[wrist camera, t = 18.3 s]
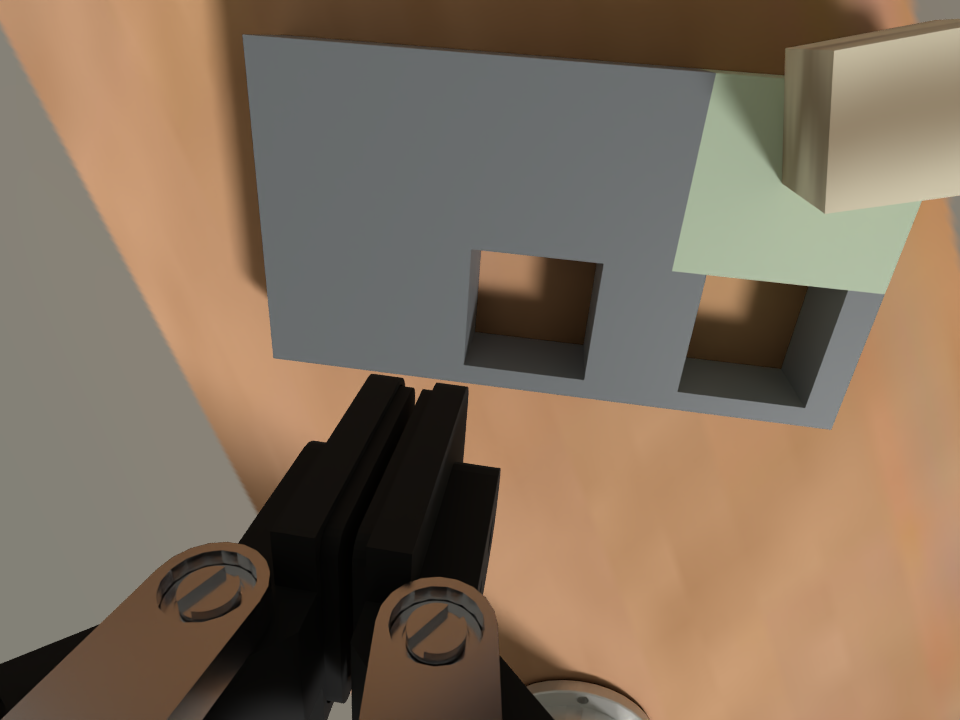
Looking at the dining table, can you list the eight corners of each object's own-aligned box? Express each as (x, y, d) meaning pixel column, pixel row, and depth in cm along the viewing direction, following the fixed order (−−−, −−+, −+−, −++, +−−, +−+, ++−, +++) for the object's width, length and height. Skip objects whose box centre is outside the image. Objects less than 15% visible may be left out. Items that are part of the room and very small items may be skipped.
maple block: (919, 163, 24) (994, 190, 20) (781, 183, 25) (824, 213, 21) (935, 20, 22) (1024, 15, 18) (785, 48, 23) (834, 50, 19)
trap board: (804, 388, 34) (830, 429, 30) (303, 326, 36) (273, 358, 33) (913, 85, 27) (964, 93, 23) (282, 35, 29) (242, 34, 26)
